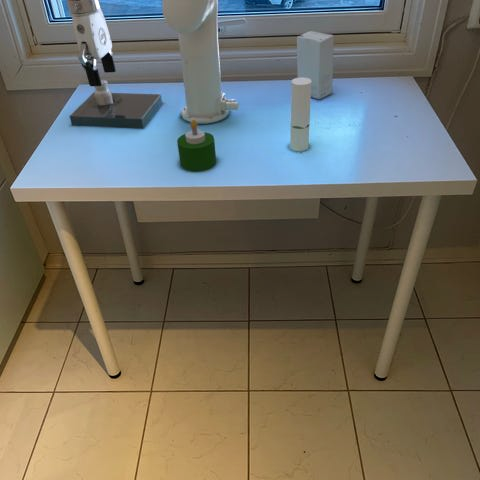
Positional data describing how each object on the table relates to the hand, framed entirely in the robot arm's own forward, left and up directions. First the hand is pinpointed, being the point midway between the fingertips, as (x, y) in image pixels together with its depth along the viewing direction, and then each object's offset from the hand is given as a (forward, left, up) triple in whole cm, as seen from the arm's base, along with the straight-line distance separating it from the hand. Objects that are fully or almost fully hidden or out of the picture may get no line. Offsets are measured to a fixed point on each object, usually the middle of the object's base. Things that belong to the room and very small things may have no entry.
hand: (103, 78), depth 137 cm
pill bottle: (+1, 0, -9) cm, 9 cm away
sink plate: (-3, +2, -9) cm, 9 cm away
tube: (-54, +16, -9) cm, 57 cm away
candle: (-32, +26, -9) cm, 42 cm away
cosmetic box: (-54, -16, -9) cm, 57 cm away
